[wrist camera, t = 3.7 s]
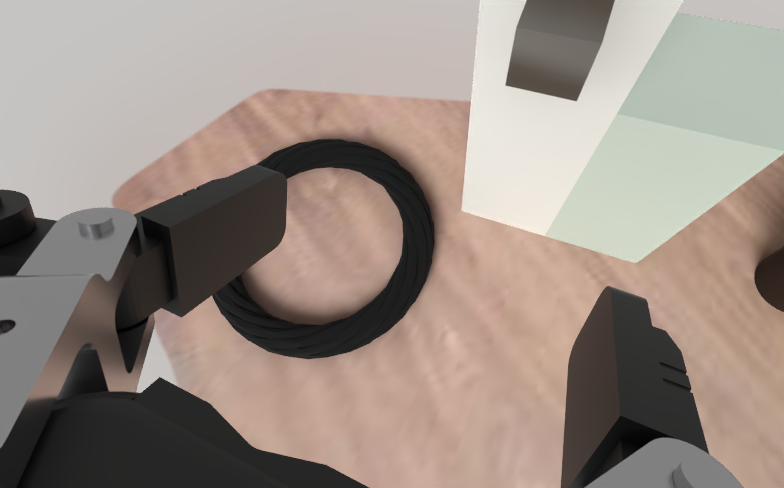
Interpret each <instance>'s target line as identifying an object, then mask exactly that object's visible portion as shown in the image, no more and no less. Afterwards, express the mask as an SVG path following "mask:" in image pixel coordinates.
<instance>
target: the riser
mask: <svg viewBox="0 0 784 488" xmlns="http://www.w3.org/2000/svg"><path fill="white" fill-rule="evenodd" d="M526 1H527V0H480V8H479V19H478V31H477V42H476V53H475V64H474V75H473V87H472V97H471V109H470V120H469V131H468V142H467V154H466V165H465V176H464V187H463V198H462V210H461V211H463V212H466V213H470V214H473V215H476V216H480V217H483V218H486V219H490V220H493V221H496V222H500V223H503V224H506V225H510V226H513V227H516V228H520V229H523V230H526V231H530V232H533V233H536V234H540V235H543V236H546V237H550V238H553V239H556V240H560V241H563V242H566V243H570V244H573V245H576V246H580V247H583V248H586V249H590V250H593V251H596V252H600V253H603V254H606V255H610V256H613V257H616V258H620V259H623V260H626V261H630V262H633V263H637V262H639V261H640V260H641V259H643V258H644V257H645V256H647V255H648V254H649V253H651V252H652V251H653V250H655V249H656V248H657V247H659V246H660V245H661V244H663V243H664V242H666V241H667V240H668V239H670V238H671V237H672V236H674V235H675V234H676V233H678V232H679V231H680V230H682V229H683V228H684V227H686V226H687V225H688V224H690V223H691V222H692V221H694V220H695V219H696V218H698V217H699V216H701V215H702V214H703V213H705V212H706V211H707V210H709V209H710V208H711V207H713V206H714V205H715V204H717V203H718V202H719V201H721V200H722V199H723V198H725V197H726V196H727V195H729V194H730V193H731V192H733V191H734V190H736V189H737V188H738V187H740V186H741V185H742V184H744V183H745V182H746V181H748V180H749V179H750V178H752V177H753V176H754V175H756V174H757V173H758V172H760V171H761V170H762V169H764V168H765V167H766V166H768V165H769V164H771V163H772V162H773V161H775V160H776V159H777V158H779V157H780V156H781V155H783V154H784V30H780V29H774V28H768V27H762V26H756V25H750V24H744V23H738V22H732V21H726V20H720V19H714V18H708V17H702V16H696V15H690V14H684V13H678V12H677V11H678V9H679V8H680V6H681V4H682V2H683V1H684V0H615V1H614V5H613V8H612V11H611V15H610V18H609V22H608V25H607V28H606V32H605V35H604V38H603V42H602V45H601V47H600V49H599V52H598V54H597V56H596V58H595V61H594V63H593V65H592V68H591V70H590V72H589V74H588V77H587V79H586V81H585V84H584V86H583V88H582V91H581V93H580V95H579V97H578V100H577V101H572V100H568V99H563V98H559V97H554V96H550V95H545V94H541V93H537V92H532V91H528V90H523V89H519V88H514V87H510V86H505V84H506V79H507V73H508V68H509V63H510V58H511V52H512V47H513V42H514V37H515V32H516V27H517V24H518V22H519V19H520V16H521V14H522V11H523V9H524V6H525V3H526Z"/></svg>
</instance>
